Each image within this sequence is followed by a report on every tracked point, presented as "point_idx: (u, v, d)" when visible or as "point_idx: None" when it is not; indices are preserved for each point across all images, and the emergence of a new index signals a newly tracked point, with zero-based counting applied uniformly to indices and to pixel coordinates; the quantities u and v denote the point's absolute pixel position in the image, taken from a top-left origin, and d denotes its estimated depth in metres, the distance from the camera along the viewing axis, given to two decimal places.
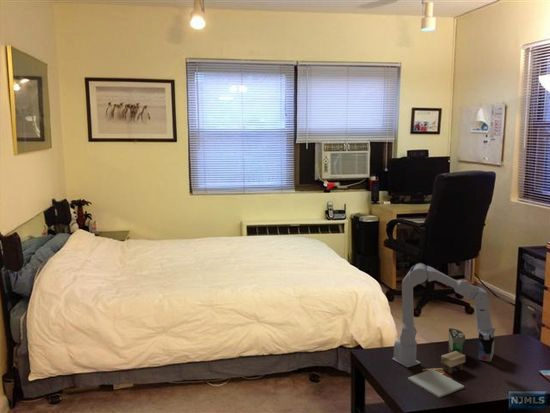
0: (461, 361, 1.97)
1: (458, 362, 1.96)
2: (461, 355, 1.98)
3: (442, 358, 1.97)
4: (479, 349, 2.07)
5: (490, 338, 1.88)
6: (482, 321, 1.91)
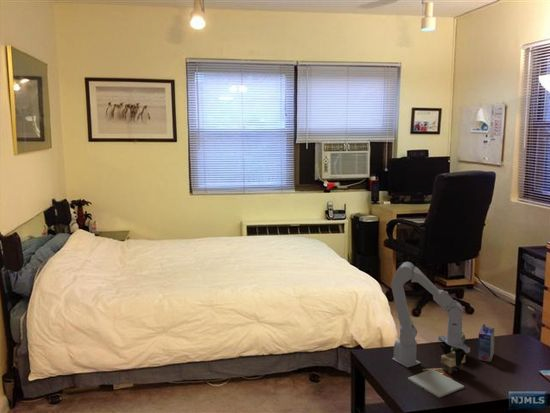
0: None
1: None
2: None
3: (442, 358, 1.97)
4: (479, 349, 2.07)
5: None
6: (458, 335, 1.94)
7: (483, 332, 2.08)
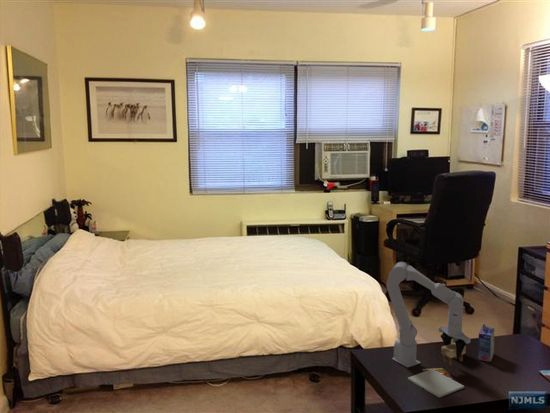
0: None
1: None
2: None
3: (442, 349, 1.97)
4: (479, 349, 2.07)
5: None
6: (459, 326, 1.93)
7: (483, 332, 2.08)
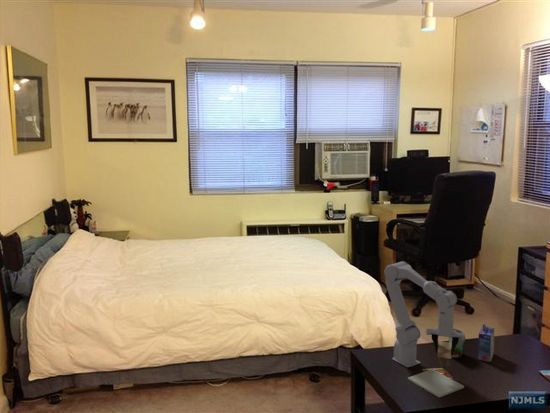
0: None
1: None
2: (449, 344, 1.93)
3: (439, 352, 1.88)
4: (479, 349, 2.07)
5: None
6: (452, 323, 1.88)
7: (483, 332, 2.08)
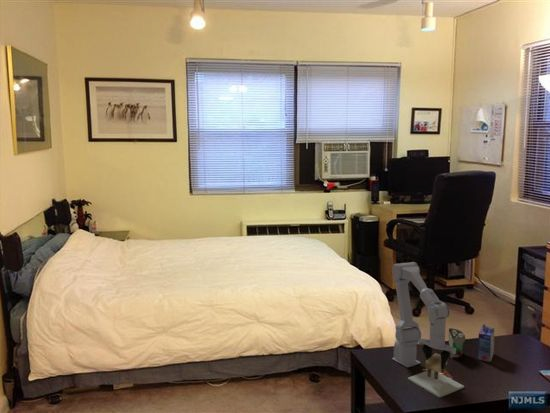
0: None
1: None
2: None
3: (427, 363, 1.85)
4: (479, 349, 2.07)
5: None
6: (443, 336, 1.83)
7: (483, 332, 2.08)
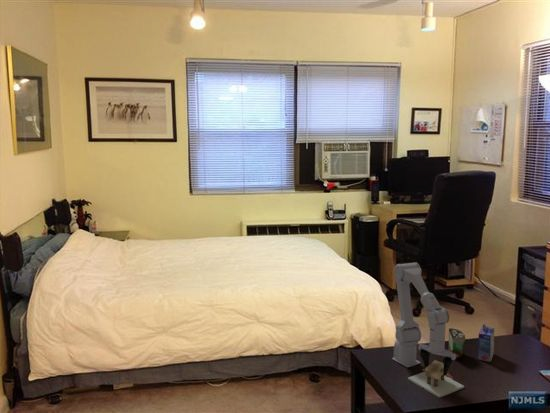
0: None
1: (442, 372, 1.86)
2: (443, 364, 1.88)
3: (427, 371, 1.85)
4: (479, 349, 2.07)
5: None
6: (443, 342, 1.83)
7: (483, 332, 2.08)
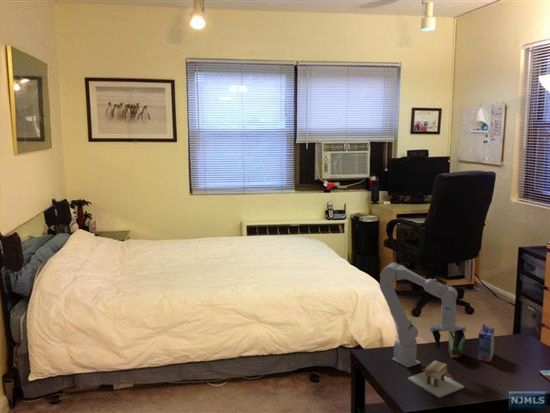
0: (444, 371, 1.87)
1: (442, 372, 1.86)
2: (443, 364, 1.88)
3: (427, 371, 1.85)
4: (479, 349, 2.07)
5: None
6: None
7: (483, 332, 2.08)
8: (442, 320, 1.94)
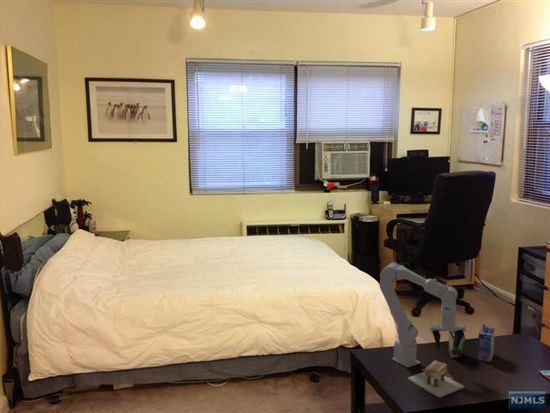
0: (444, 371, 1.87)
1: (442, 372, 1.86)
2: (443, 364, 1.88)
3: (427, 371, 1.85)
4: (479, 349, 2.07)
5: None
6: None
7: (483, 332, 2.08)
8: (442, 320, 1.94)
